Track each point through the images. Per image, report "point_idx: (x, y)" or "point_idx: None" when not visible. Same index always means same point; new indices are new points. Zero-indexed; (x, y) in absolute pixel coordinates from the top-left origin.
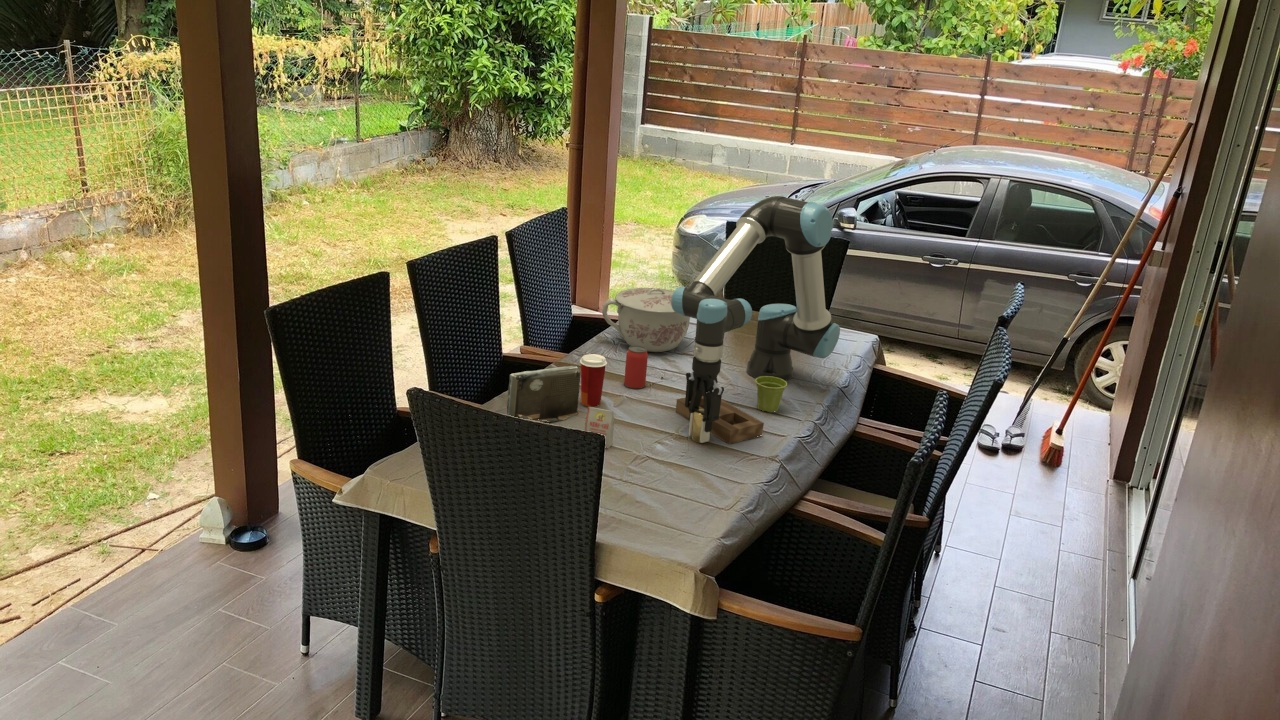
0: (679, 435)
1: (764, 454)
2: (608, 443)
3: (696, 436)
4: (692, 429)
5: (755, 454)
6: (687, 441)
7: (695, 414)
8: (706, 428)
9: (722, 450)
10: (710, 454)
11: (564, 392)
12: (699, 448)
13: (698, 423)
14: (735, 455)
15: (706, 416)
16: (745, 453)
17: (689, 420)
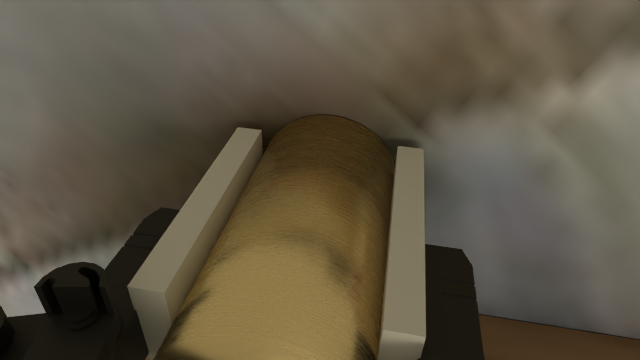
0: (498, 92)
1: (19, 303)
2: None
3: (289, 145)
4: (364, 185)
5: (23, 275)
6: (351, 64)
7: (274, 329)
8: (152, 235)
9: (107, 175)
10: (59, 54)
11: None
12: (185, 55)
13: (240, 241)
14: (22, 188)
15: (40, 355)
16: (42, 248)
17: (463, 262)
